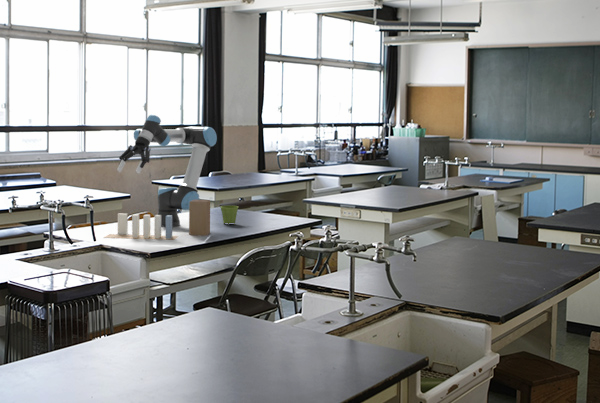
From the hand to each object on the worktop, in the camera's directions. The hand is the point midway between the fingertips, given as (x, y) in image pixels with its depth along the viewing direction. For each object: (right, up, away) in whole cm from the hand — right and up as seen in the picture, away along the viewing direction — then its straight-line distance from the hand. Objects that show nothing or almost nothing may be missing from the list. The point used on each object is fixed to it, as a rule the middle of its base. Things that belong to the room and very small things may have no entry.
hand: (127, 171), depth 367 cm
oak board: (+7, -36, 0) cm, 37 cm away
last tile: (+22, -36, 0) cm, 42 cm away
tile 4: (+16, -36, 0) cm, 39 cm away
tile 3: (+10, -35, 0) cm, 37 cm away
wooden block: (+36, -36, +16) cm, 53 cm away
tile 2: (+4, -35, 0) cm, 35 cm away
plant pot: (+48, -31, +61) cm, 84 cm away
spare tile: (-6, -35, +10) cm, 37 cm away
